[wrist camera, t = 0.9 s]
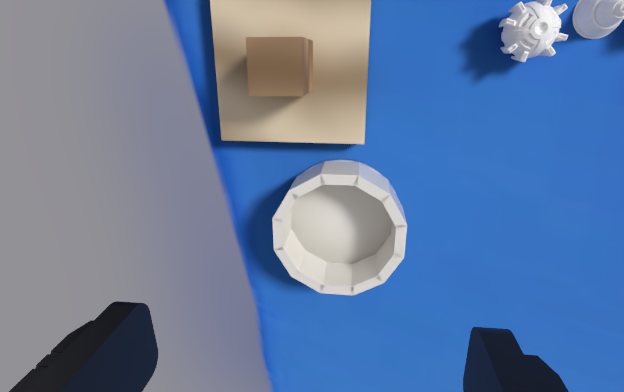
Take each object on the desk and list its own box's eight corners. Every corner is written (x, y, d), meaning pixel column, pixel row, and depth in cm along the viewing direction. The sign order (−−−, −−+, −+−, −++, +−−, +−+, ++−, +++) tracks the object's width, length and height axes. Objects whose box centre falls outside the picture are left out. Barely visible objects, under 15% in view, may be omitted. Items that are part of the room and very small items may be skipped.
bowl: (282, 157, 28) (270, 172, 25) (405, 160, 27) (411, 177, 24) (285, 262, 32) (275, 289, 28) (395, 269, 30) (400, 298, 27)
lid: (215, -17, 24) (174, -38, 19) (371, -21, 23) (374, -44, 18) (227, 137, 28) (195, 155, 23) (364, 140, 27) (364, 161, 21)
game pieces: (711, -46, 21) (769, -63, 18) (706, 17, 22) (760, 10, 19) (488, 11, 24) (507, 4, 21) (493, 65, 25) (512, 66, 22)
